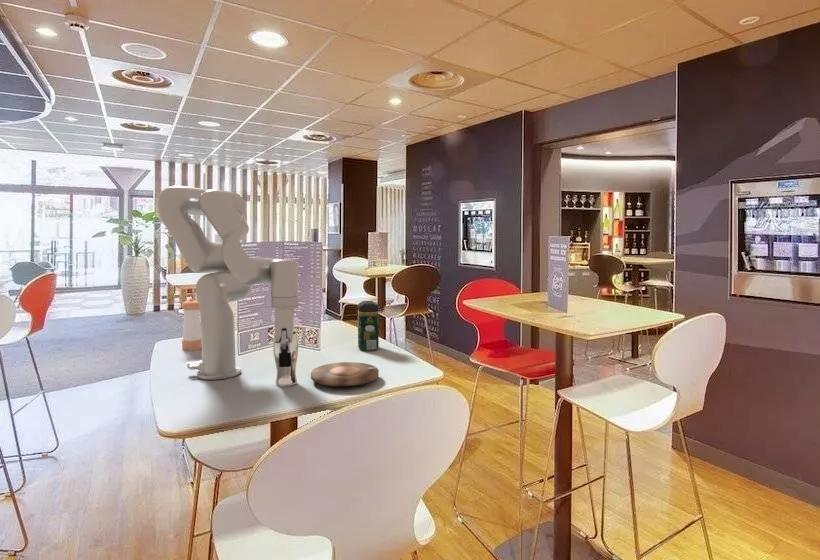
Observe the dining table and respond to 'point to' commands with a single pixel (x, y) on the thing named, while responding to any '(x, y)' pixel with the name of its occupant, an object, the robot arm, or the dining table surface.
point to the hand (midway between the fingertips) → (286, 362)
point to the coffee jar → (368, 326)
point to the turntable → (344, 374)
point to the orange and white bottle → (191, 325)
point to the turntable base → (344, 386)
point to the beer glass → (286, 374)
